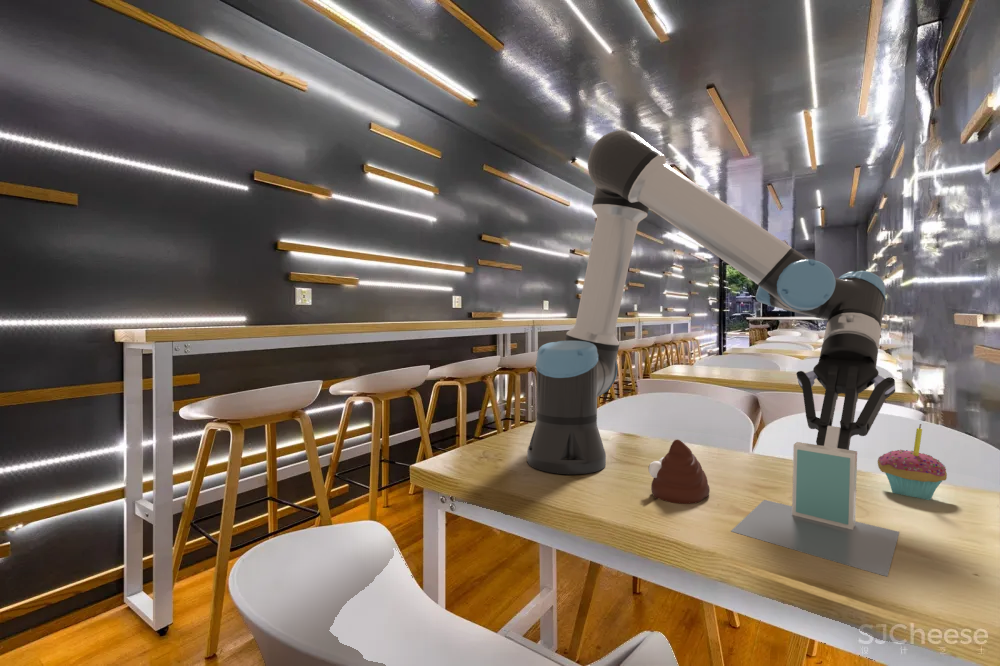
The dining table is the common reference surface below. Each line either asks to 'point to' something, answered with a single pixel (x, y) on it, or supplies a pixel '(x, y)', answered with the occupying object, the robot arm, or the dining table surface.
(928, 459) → the cupcake
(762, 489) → the dining table surface
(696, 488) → the poop emoji
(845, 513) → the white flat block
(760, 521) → the slate board
